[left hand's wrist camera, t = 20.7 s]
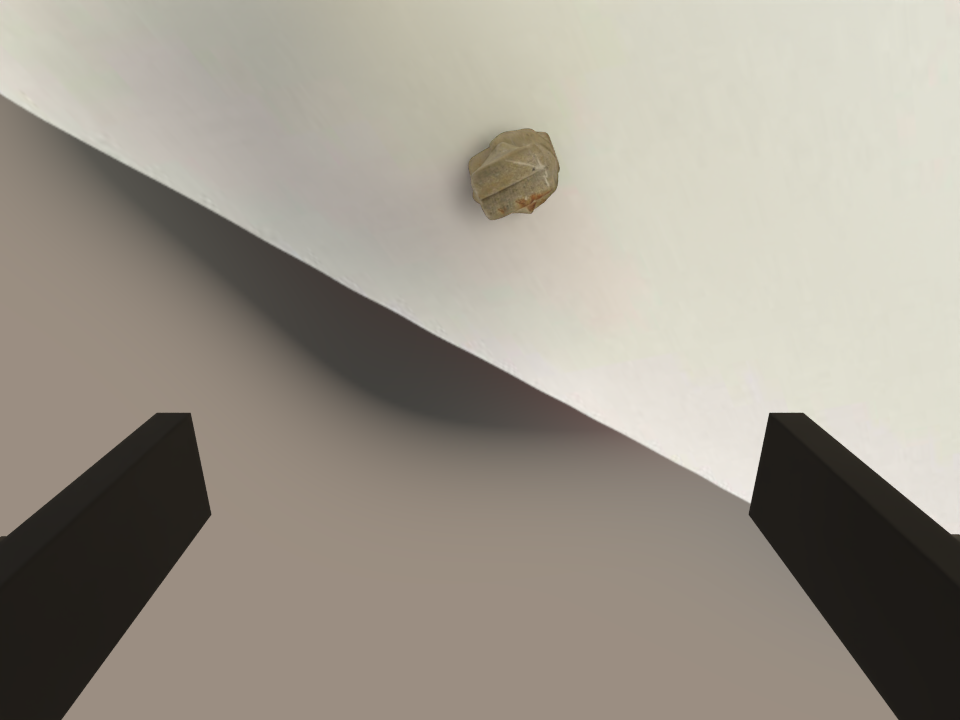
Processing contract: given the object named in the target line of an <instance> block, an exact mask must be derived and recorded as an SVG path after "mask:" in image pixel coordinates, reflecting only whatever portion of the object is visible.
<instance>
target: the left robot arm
mask: <svg viewBox="0 0 960 720" xmlns="http://www.w3.org/2000/svg"><path fill="white" fill-rule="evenodd" d="M210 516H211V511H210V506H209V501H208V496H207V491H206V486H205V481H204V476H203V471H202V466H201V461H200V457H199V452H198V447H197V442H196V437H195V432H194V427H193V422H192V417H191V413H156V414H155V415H154V416H152V417H151V418H150V419H149V420H148V421H146V422H145V423H144V424H143V425H141V426H140V427H139V428H138V429H137V430H135V431H134V432H133V433H132V434H131V435H129V436H128V437H127V438H126V439H124V440H123V441H122V442H121V443H120V444H118V445H117V446H116V447H115V448H114V449H112V450H111V451H110V452H109V453H107V454H106V455H105V456H104V457H103V458H101V459H100V460H99V461H98V462H97V463H95V464H94V465H93V466H92V467H90V468H89V469H88V470H87V471H86V472H84V473H83V474H82V475H81V476H80V477H78V478H77V479H76V480H75V481H73V482H72V483H71V484H70V485H69V486H67V487H66V488H65V489H64V490H62V491H61V492H60V493H59V494H58V495H56V496H55V497H54V498H53V499H52V500H50V501H49V502H48V503H47V504H45V505H44V506H43V507H42V508H41V509H39V510H38V511H37V512H36V513H35V514H33V515H32V516H31V517H30V518H28V519H27V520H26V521H25V522H24V523H22V524H21V525H20V526H19V527H18V528H16V529H15V530H14V531H13V532H11V533H10V534H9V535H8V536H1V537H0V720H61V719H62V718H63V717H64V715H65V714H66V713H67V711H68V710H69V709H70V707H71V706H72V704H73V703H74V702H75V700H76V699H77V698H78V696H79V695H80V694H81V692H82V691H83V689H84V688H85V687H86V685H87V684H88V683H89V681H90V680H91V678H92V677H93V676H94V674H95V673H96V672H97V670H98V669H99V668H100V666H101V665H102V663H103V662H104V661H105V659H106V658H107V657H108V655H109V654H110V653H111V651H112V650H113V648H114V647H115V646H116V644H117V643H118V642H119V640H120V639H121V637H122V636H123V635H124V633H125V632H126V631H127V629H128V628H129V627H130V625H131V624H132V622H133V621H134V620H135V618H136V617H137V616H138V614H139V613H140V611H141V610H142V609H143V607H144V606H145V605H146V603H147V602H148V601H149V599H150V598H151V596H152V595H153V594H154V592H155V591H156V590H157V588H158V587H159V585H160V584H161V583H162V581H163V580H164V579H165V577H166V576H167V575H168V573H169V572H170V570H171V569H172V568H173V566H174V565H175V564H176V562H177V561H178V559H179V558H180V557H181V555H182V554H183V553H184V551H185V550H186V549H187V547H188V546H189V544H190V543H191V542H192V540H193V539H194V538H195V536H196V535H197V533H198V532H199V531H200V529H201V528H202V527H203V525H204V524H205V523H206V521H207V520H208V518H209V517H210ZM749 516H750V517H751V518H752V520H753V521H754V523H755V524H756V525H757V527H758V528H759V529H760V531H761V532H762V533H763V535H764V536H765V538H766V539H767V540H768V542H769V543H770V544H771V546H772V547H773V549H774V550H775V551H776V553H777V554H778V555H779V557H780V558H781V559H782V561H783V562H784V564H785V565H786V566H787V568H788V569H789V570H790V572H791V573H792V575H793V576H794V577H795V579H796V580H797V581H798V583H799V584H800V585H801V587H802V588H803V590H804V591H805V592H806V594H807V595H808V596H809V598H810V599H811V600H812V602H813V603H814V605H815V606H816V607H817V609H818V610H819V611H820V613H821V614H822V616H823V617H824V618H825V620H826V621H827V622H828V624H829V625H830V626H831V628H832V629H833V631H834V632H835V633H836V635H837V636H838V637H839V639H840V640H841V642H842V643H843V644H844V646H845V647H846V648H847V650H848V651H849V653H850V654H851V655H852V657H853V658H854V659H855V661H856V662H857V663H858V665H859V666H860V668H861V669H862V670H863V672H864V673H865V674H866V676H867V677H868V678H869V680H870V681H871V683H872V684H873V685H874V687H875V688H876V689H877V691H878V692H879V694H880V695H881V696H882V698H883V699H884V700H885V702H886V703H887V705H888V706H889V707H890V709H891V710H892V711H893V713H894V714H895V715H896V717H897V718H898V720H960V535H959V534H950V533H949V532H947V531H946V530H945V529H944V528H942V527H941V526H940V525H939V524H938V523H936V522H935V521H934V520H933V519H932V518H930V517H929V516H928V515H927V514H925V513H924V512H923V511H922V510H921V509H919V508H918V507H917V506H916V505H915V504H913V503H912V502H911V501H910V500H908V499H907V498H906V497H905V496H904V495H902V494H901V493H900V492H899V491H898V490H896V489H895V488H894V487H893V486H891V485H890V484H889V483H888V482H887V481H885V480H884V479H883V478H882V477H881V476H879V475H878V474H877V473H876V472H874V471H873V470H872V469H871V468H870V467H868V466H867V465H866V464H865V463H863V462H862V461H861V460H860V459H859V458H857V457H856V456H855V455H854V454H853V453H851V452H850V451H849V450H848V449H846V448H845V447H844V446H843V445H842V444H840V443H839V442H838V441H837V440H836V439H834V438H833V437H832V436H831V435H829V434H828V433H827V432H826V431H825V430H823V429H822V428H821V427H820V426H819V425H817V424H816V423H815V422H814V421H812V420H811V419H810V418H809V417H808V416H806V415H805V414H804V413H769V417H768V422H767V427H766V432H765V437H764V442H763V447H762V452H761V457H760V461H759V466H758V471H757V476H756V481H755V486H754V491H753V496H752V501H751V506H750V511H749Z"/></svg>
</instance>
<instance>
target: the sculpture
mask: <svg viewBox="0 0 960 720" xmlns="http://www.w3.org/2000/svg"><path fill="white" fill-rule="evenodd" d="M559 169H560V167H559V163H558V160H557V157H556V154H555V151H554V148H553V145H552V143H551V140H550V137H549V135H548V134H547V133H545V132H535V131H534V130H532V129H521V130H516V131H508V132H504V133H501V134H500V135H498V136H497V137H496V138H495V139H493V140H492V141H491V143H490V147H489V148H487V149H485V150H484V151H482V152H480V153H479V154H477V155H476V156H474V157H472V158H471V160H470V161H469V172H470V176H471V185H472V189H473V198H474V200H475V201H476V202H477V203H479V204H481V207H482V209H483V211H484V213H485V215H486V216H487V217H488V218H489V219H490V220H496V219H499V218H502V217H505V216H507V215H509V214H511V213H526V214H531V213H532V212H533V210H534V209H535V208H537V207H538V206H539V205H541V204H542V203H544V202H545V201H546V200H547V198H548V197H549V196H550V195H551V194H552V193H553V192H554V191H555V190H556V188H557V185H558V172H559Z"/></svg>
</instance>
